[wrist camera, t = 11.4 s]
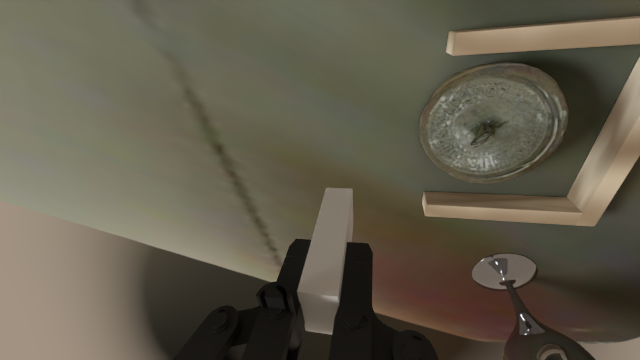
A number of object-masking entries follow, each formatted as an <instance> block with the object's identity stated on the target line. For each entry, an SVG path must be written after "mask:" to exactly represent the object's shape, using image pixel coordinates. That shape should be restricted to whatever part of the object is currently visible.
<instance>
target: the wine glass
mask: <svg viewBox="0 0 640 360" xmlns="http://www.w3.org/2000/svg"><path fill="white" fill-rule="evenodd" d="M536 274H537V267H536V265H535V263H534V262H533V261H532V260H531V259H529V258H527V257H525V256H523V255H519V254H513V253H502V254H495V255H491V256H488V257H486V258H484V259H482V260H480V261H479V262H478V263H477V264H476V265H475V266H474V267H473V270H472V277H473V280H474V281H475V282H476V283H477V284H478V285H480V286H481V287H483V288H486V289H489V290H495V291H508V292H509V294H510V297H511V299H512V302H513V305H514V309H515V312H516V325H515V328H514V330H513V331H512V333H511V335H510V337H509V339H508V340H507V342H506V345H505V348H504V350H503V360H595V358H594V357H593V356H592V355H591V354H590V353H589V352H587V351H586V350H585V349H584V348H583V347H582V346H581V345H580V344H578V343H577V342H575V341H574V340H572V339H570V338H569V337H567V336H565V335H563V334H561V333H559V332H557V331H555V330H554V329H552V328H550V327H548V326H546V325H544V324H543V323H541V322H540V321H538V320H537V319H536V318H535V317H533V316H532V315H531V313H530V312H529V311H528V310H527V308H526V307H525V305H524V304H523V302H522V301H521V299H520V297H519V296H518V294H517V292H516V290H515V289H518V288H521V287H524V286H526V285H527V284H529V283H530V282H531V281H532V280H533V279H534V278H535V277H536Z"/></svg>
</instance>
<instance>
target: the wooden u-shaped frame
mask: <svg viewBox="0 0 640 360" xmlns="http://www.w3.org/2000/svg"><path fill="white" fill-rule="evenodd" d="M630 44H640V16H629V17H617V18H605V19H593V20H581V21H569V22H556V23H544V24H532V25H520V26H508V27H496V28H483V29H471V30H459V31H449V35H448V41H447V48H446V53H448V54H450V55H452V56H456V55H472V54H488V53H504V52H519V51H535V50H551V49H567V48H583V47H598V46H614V45H630ZM639 156H640V57H639V59H638V61H637V62H636V64H635V66H634V68H633V70H632V72H631V74H630V76H629V78H628V80H627V82H626V84H625V86H624V87H623V89H622V91H621V93H620V95H619V97H618V99H617V101H616V103H615V105H614V107H613V109H612V111H611V112H610V114H609V116H608V118H607V120H606V122H605V124H604V126H603V128H602V130H601V132H600V134H599V135H598V137H597V139H596V141H595V143H594V145H593V147H592V149H591V151H590V153H589V155H588V157H587V159H586V160H585V162H584V164H583V166H582V168H581V170H580V172H579V174H578V176H577V178H576V180H575V182H574V184H573V185H572V187H571V189H570V191H569V193H568V195H567V197H548V196H524V195H500V194H477V193H453V192H429V191H424V193H423V199H422V204H423V208H424V213H425V216H433V217H449V218H465V219H482V220H498V221H514V222H531V223H547V224H563V225H579V226H595V225H596V223H597V222H598V220H599V219H600V217H601V215H602V214H603V212H604V211H605V209H606V208H607V206H608V205H609V203H610V201H611V200H612V198H613V197H614V195H615V194H616V192H617V190H618V189H619V187H620V186H621V184H622V183H623V181H624V179H625V178H626V176H627V175H628V173H629V172H630V170H631V168H632V167H633V165H634V164H635V162H636V161H637V159H638V158H639Z"/></svg>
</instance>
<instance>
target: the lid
mask: <svg viewBox="0 0 640 360" xmlns="http://www.w3.org/2000/svg"><path fill="white" fill-rule="evenodd" d="M568 114H569V110H568V108H567V104H566V101H565V97H564V94H563V93H562V91H561V89H560V88H559V86H558V84H557V82H556V81H555V80H554V79H553V78H552V77H551V76H550V75H548V74H546V73H545V72H543V71H542V70H540V69H539V68H535V67H532V66H530V65H526V64H522V63H512V62H507V61H506V62H496V63H491V64H484V65H479V66H476V67H472V68H469V69H466V70H463V71H462V72H459V73H456V74H454V75H452V76H451V77H450V78H449V79H447V80H446V81H445V82H443V83H442V84H441V85H440V86H439V87H438V88H437V89H436V90H435V92H434V93H433V94H432V96H431V98H430V100H429V101H428V103H427V104H426V105H425V107H424V109H423V111H422V113H421V116H420V120H419V137H420V141H421V144H422V146H423V148H424V151H425V153H426V154H427V155H428V157H429V158H430V159H431V160H432V161H433V163H434V164H435V165H437V166H438V167H439V168H440V169H441V170H443V171H444V172H446V173H447V174H449V175H451V176H453V177H455V178H459V179H461V180H464V181H468V182H474V183H495V182H500V181H504V180H508V179H512V178H515V177H518V176H519V175H522V174H524V173H526V172H528V171H530V170H532V169H533V168H535V167H536V166H538V165H539V164H540V163H541V162H543V161H544V160H545V159H546V158H547V157H548V156H549V155H551V154H552V153H553V152H554V151H555V150H556V149H557V147H558V146H559V144H560V143H561V141H562V140H563V137H564V134H565V131H566V129H567V125H568Z"/></svg>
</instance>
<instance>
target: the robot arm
mask: <svg viewBox="0 0 640 360" xmlns="http://www.w3.org/2000/svg"><path fill="white" fill-rule="evenodd" d="M352 231H353V194H352V189H345V188H326V190H325V194H324V197H323V201H322V204H321V208H320V212H319V215H318V219H317V222H316V226H315V229H314V233H313V236H312V240H306V239H296V240H295V241H294V242H293V243H292V244H291V245H290V246H289V249H288V252H287V254H286V257H285V260H284V262H283V265H282V268H281V271H280V273H279V276H278V279H277V282H271V283H269V284H266V285H265V286H263V287H262V288H261V289H260V290H259V291H258V293H257V295H256V297H257V300H258V302H259V305H260V306H258V307H255V308H252V309H247V310H242V311H237V310H236V309H235V308H234V307H232V306H222V307H219V308H217V309H215V310H213V311H212V312H211V313H210V314H209V315H208V316H207V317H206V319H205V320H204V321H203V322H202V324H201V325H200V326H199V328H198V329H197V330H196V331H195V332H194V334H193V335H192V336H191V338H190V339H189V340H188V341H187V343H186V344H185V345H184V346H183V348H182V349H181V350H180V351H179V353H178V354H177V355H176V356H175V358H174V359H173V360H300V356H301V351H302V346H303V339H302V334H303V329H304V325H305V329H306V331H312V332H318V333H325V334H332V340H331V347H330V355H329V360H439V359H438V357H437V355H436V352H435V350H434V348H433V346H432V344H431V343H430V341H429V340H428V339H427V338H426V337H425V336H424V335H423V334H420V333H418V332H416V331H412V330H405V331H402V332H399V331H397V330H394V329H392V328H390V327H388V326H387V325H385V324H383V323H382V322H381V321H380V320H379V319H378V318H377V317H376V315H375V313H374V311H373V308H372V258H373V252H372V250H371V248H370V246H369V244H367V243H353V242H351V240H352Z"/></svg>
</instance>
